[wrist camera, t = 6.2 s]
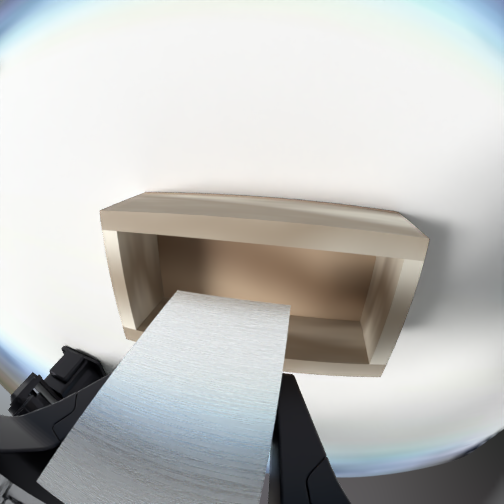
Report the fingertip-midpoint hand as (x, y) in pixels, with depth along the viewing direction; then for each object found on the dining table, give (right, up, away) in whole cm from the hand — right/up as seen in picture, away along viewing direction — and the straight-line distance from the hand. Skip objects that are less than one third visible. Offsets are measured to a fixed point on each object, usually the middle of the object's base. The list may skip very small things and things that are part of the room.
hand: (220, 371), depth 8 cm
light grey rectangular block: (0, +1, +1) cm, 2 cm away
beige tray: (+2, +3, +8) cm, 9 cm away
